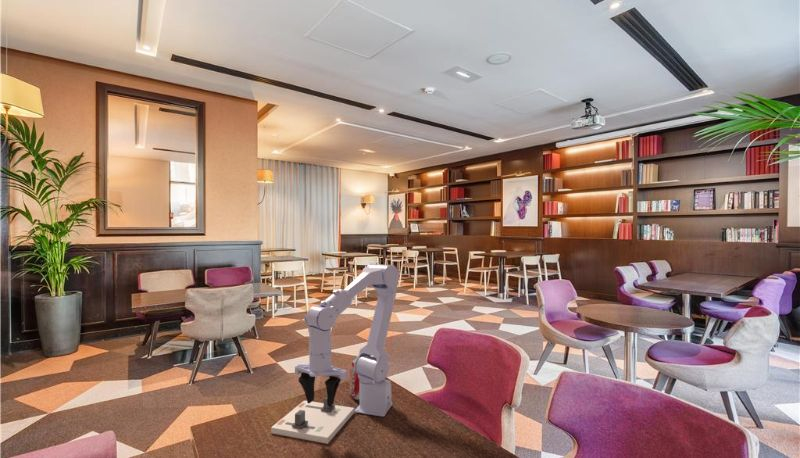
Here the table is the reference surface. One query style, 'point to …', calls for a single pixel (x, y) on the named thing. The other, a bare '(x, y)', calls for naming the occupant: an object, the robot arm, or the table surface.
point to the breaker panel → (314, 422)
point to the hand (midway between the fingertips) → (320, 403)
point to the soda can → (354, 382)
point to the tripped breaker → (300, 419)
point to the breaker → (326, 407)
